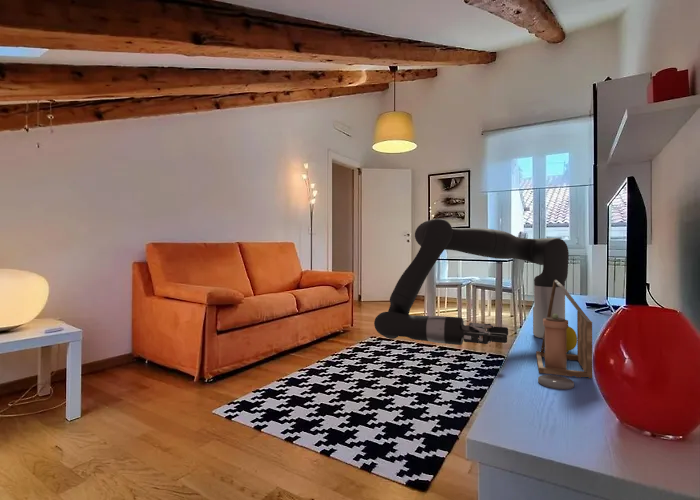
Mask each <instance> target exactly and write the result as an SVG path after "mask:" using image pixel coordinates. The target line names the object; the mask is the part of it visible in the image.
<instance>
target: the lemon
mask: <svg viewBox="0 0 700 500" xmlns="http://www.w3.org/2000/svg"><path fill="white" fill-rule="evenodd" d="M576 346H577V333H576V331H575V329H574V328H573V327H571V326H570V325H568V328H566V353H568V352H569V351H573V350H574V349H575V348H576Z"/></svg>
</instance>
